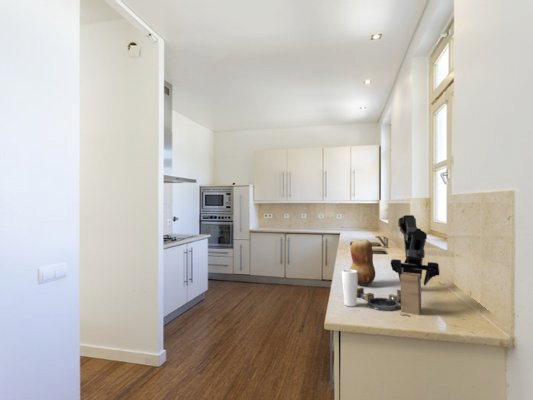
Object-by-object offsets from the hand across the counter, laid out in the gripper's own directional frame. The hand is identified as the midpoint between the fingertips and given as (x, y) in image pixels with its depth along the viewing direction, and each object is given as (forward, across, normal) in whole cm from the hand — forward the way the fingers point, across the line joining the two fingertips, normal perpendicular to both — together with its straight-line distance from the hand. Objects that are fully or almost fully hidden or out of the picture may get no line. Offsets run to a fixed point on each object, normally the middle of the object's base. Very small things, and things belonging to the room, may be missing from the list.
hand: (412, 283), depth 126 cm
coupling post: (+10, 0, +6) cm, 11 cm away
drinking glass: (+14, -24, +1) cm, 28 cm away
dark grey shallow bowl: (+9, -12, +6) cm, 16 cm away
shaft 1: (+5, -21, +10) cm, 24 cm away
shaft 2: (+2, -8, +13) cm, 15 cm away
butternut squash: (-12, -30, +27) cm, 42 cm away
